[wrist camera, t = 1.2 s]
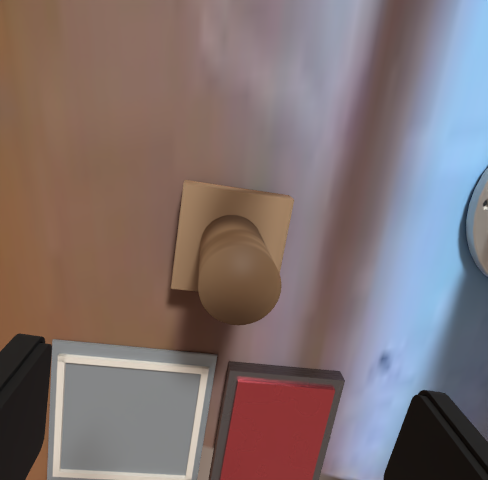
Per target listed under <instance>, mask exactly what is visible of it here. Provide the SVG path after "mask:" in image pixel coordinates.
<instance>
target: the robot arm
mask: <svg viewBox="0 0 488 480" xmlns="http://www.w3.org/2000/svg"><path fill="white" fill-rule="evenodd" d="M466 237H467V242H468V246H469V251H470V253H471V255H472V257H473V260H474V262H475V264H476V265H477V266H478V268H479V269H480V270H481V271H482V273H483V274H484V275H485V276H487V277H488V168H487V169H486V170H485V172H484V173H483V175H482V177H481V179H480V180H479V182H478V184H477V186H476V187H475V190H474V192H473V195H472V198H471V201H470V204H469V208H468V214H467V219H466ZM51 355H52V346H51V344H45V339H44V337H40V336H33V335H26V334H17V335H16V336H15V337H14V338H13V339H12V340H11V341H10V342H9V343H8V344H7V345H6V346H5V347H4V348H3V349H2V350H1V352H0V480H25V479H26V477H27V475H28V473H29V471H30V469H31V467H32V466H33V464H34V462H35V460H36V458H37V456H38V454H39V452H40V450H41V447H42V444H43V440H44V435H45V424H46V412H47V401H48V389H49V378H50V366H51ZM384 480H488V442H487V441H486V440H485V439H484V437H483V436H482V435H481V434H480V433H479V432H478V430H477V429H476V428H475V427H474V426H473V425H472V423H471V422H470V421H469V420H468V419H467V418H466V416H465V415H464V414H463V413H462V412H461V410H460V409H459V408H458V407H457V406H456V405H455V403H454V402H453V401H452V400H451V399H450V398H449V396H447V395H446V394H445V393H441V392H434V391H427V390H423V391H420V392H419V394H418V395H415V396H414V397H413V398H412V400H411V403H410V406H409V408H408V411H407V414H406V416H405V419H404V422H403V424H402V427H401V430H400V433H399V435H398V438H397V441H396V443H395V446H394V449H393V451H392V454H391V457H390V459H389V462H388V465H387V468H386V470H385V473H384Z"/></svg>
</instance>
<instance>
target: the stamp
mask: <svg viewBox="0 0 488 480" xmlns="http://www.w3.org/2000/svg"><path fill="white" fill-rule="evenodd" d="M293 203H294V199H293V198H291V197H290V196H289V195H283V194H276V193H269V192H263V191H256V190H249V189H243V188H236V187H229V186H222V185H216V184H209V183H202V182H195V181H189V180H185V181H184V185H183V193H182V201H181V209H180V217H179V226H178V234H177V242H176V250H175V258H174V267H173V275H172V283H171V289H179V290H188V291H197V292H199V297H200V300H201V303H202V305H203V306H204V308H205V309H206V311H207V312H208V313H209V314H210V315H211V316H213V317H214V318H215V319H217V320H219V321H221V322H223V323H227V324H231V325H245V324H250V323H253V322H256V321H258V320H260V319H262V318H263V317H265V316H266V315H267V314H268V313H269V312H270V311H271V310H272V309H273V308H274V306H275V305H276V303H277V301H278V299H279V296H280V293H281V278H280V269H281V263H282V258H283V253H284V248H285V243H286V238H287V233H288V228H289V223H290V218H291V213H292V208H293Z"/></svg>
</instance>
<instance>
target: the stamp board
mask: <svg viewBox="0 0 488 480" xmlns="http://www.w3.org/2000/svg"><path fill="white" fill-rule="evenodd" d="M216 360H217V354H206V353H195V352H185V351H174V350H163V349H152V348H142V347H131V346H120V345H109V344H98V343H88V342H77V341H66V340H55V339H53V341H52V366H51V392H50V418H49V444H48V470H47V480H197V476H198V471H199V465H200V458H201V452H202V446H203V440H204V434H205V428H206V422H207V416H208V409H209V403H210V397H211V391H212V385H213V379H214V373H215V366H216Z"/></svg>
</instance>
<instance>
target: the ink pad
mask: <svg viewBox="0 0 488 480" xmlns="http://www.w3.org/2000/svg"><path fill="white" fill-rule="evenodd" d="M344 382H345V380H344V378H343V376H342V374H341V373H340V371H329V370H318V369H307V368H296V367H285V366H274V365H263V364H252V363H241V362H230V361H229V365H228V370H227V376H226V382H225V388H224V394H223V399H222V405H221V411H220V417H219V423H218V428H217V434H216V440H215V446H214V452H213V457H212V463H211V469H210V475H209V480H319V477H320V473H321V469H322V465H323V462H324V458H325V454H326V450H327V446H328V443H329V439H330V435H331V431H332V427H333V424H334V420H335V416H336V412H337V408H338V405H339V401H340V397H341V393H342V390H343V386H344Z"/></svg>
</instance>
